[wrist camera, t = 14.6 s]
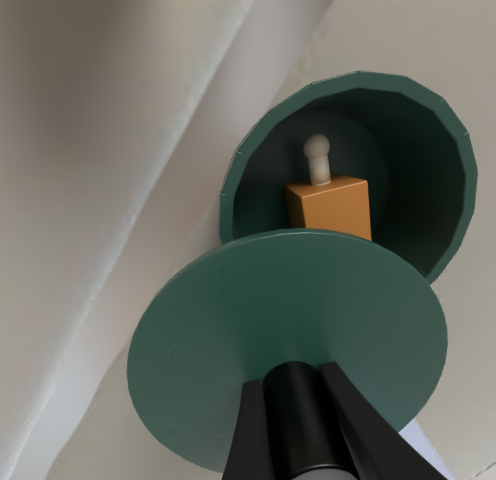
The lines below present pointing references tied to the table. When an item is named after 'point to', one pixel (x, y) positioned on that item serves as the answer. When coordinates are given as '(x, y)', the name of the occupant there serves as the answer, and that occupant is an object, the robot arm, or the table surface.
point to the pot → (363, 164)
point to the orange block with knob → (328, 196)
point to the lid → (285, 346)
